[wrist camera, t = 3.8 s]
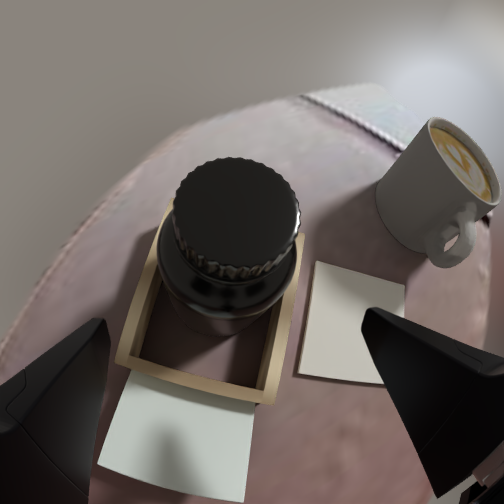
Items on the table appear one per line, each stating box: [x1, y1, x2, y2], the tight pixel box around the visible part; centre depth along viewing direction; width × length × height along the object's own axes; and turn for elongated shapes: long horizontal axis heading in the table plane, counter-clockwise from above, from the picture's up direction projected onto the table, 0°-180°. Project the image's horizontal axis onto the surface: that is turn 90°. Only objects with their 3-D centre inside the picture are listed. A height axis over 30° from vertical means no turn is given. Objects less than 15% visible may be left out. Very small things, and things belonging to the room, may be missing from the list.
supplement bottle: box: [156, 157, 301, 337], centre depth 16 cm, size 7×7×12 cm
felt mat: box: [297, 261, 405, 384], centre depth 22 cm, size 9×9×1 cm
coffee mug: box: [375, 117, 502, 268], centre depth 23 cm, size 13×10×10 cm
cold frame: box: [114, 198, 305, 405], centre depth 19 cm, size 12×10×3 cm
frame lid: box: [97, 370, 255, 503], centre depth 15 cm, size 7×8×4 cm
